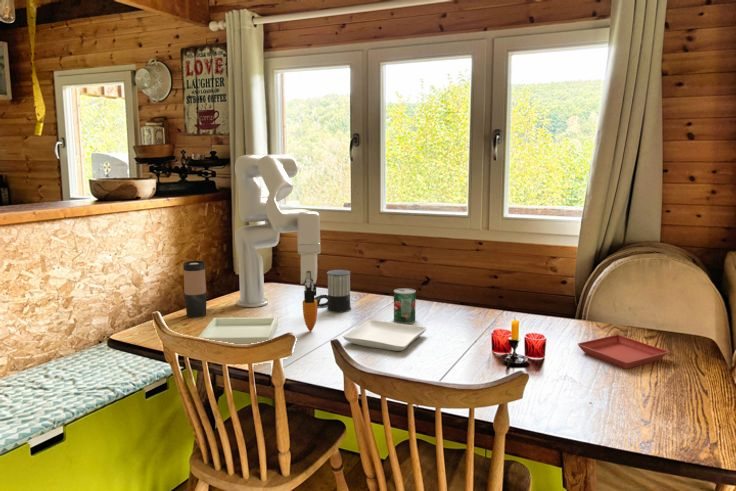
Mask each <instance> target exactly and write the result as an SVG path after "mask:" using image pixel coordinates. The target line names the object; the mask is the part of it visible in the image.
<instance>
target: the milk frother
mask: <svg viewBox="0 0 736 491" xmlns="http://www.w3.org/2000/svg"><path fill="white" fill-rule="evenodd" d="M326 274H327V294H328V295H327V294H320V295H316V296H314V299H316V300H317V308H318V307H319V308H321V307H326V306H327V311H329V312H333V313H344V312H349V311H351V310H352V307H351V270H346V269H333V270H328V271H327V272H326ZM322 299H326V300H327V301H326V302H324V303H320V302H321V300H322Z"/></svg>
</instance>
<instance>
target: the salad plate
mask: <svg viewBox="0 0 736 491" xmlns="http://www.w3.org/2000/svg"><path fill="white" fill-rule="evenodd" d="M426 331H427V327H424V326H417V325H410V324H403V323H397V322H391V321H385V320H384V321H383V320H375V319H374V320H373V319H370V320H367V321H365V322H364V323H362V324H360V325H359V326H357V327H355V328H353V329H352V330H350V331H349V332H347V333H346V334H344V335H343V336H342V338H343V339H344V340H345V341H347V342H349V343H351V344H355V345H357V346H362V347H367V348H375V349H382V350H388V351H394V352H395V351H396V352H398V351H399V352H401V351H403V350H405V349H406V348H407V347H408V346H409V345H410V344H412V343H413V341H415V340H416V339H417V338H419V337H420V336H422V335H423V334H424V333H425V332H426Z"/></svg>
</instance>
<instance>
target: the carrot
mask: <svg viewBox="0 0 736 491" xmlns="http://www.w3.org/2000/svg"><path fill="white" fill-rule="evenodd" d="M314 292H315V290H314ZM302 314H303V320H304V323H305V325H306V327H307V330H308V331H309V332H312V331H314V330H313V329H314V327H315V325H316V322H317V316H318V306H317V300H316V299H314V303H305V300H304V299H303V300H302Z"/></svg>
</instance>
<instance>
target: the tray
mask: <svg viewBox="0 0 736 491" xmlns="http://www.w3.org/2000/svg"><path fill="white" fill-rule="evenodd" d="M278 323H279V321H278V317H277V316H276V317H275V316H273V317H271V316H270V317H265V316H263V317H213V319H212V320H211V321H210V322H209V323H208V324H207V325H206V327H205V328H204V329H203V330H202V332H201V333H200V334H199V335H198V337H200V338H204V339H209V340H215V341H222V342H228V343H234V344H251V343H257V342H262V341H266V340H269V339H272V340H273V337H274V335H275V333H276V331H277V328H278V326H279V325H278ZM198 337H197V338H198Z"/></svg>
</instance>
